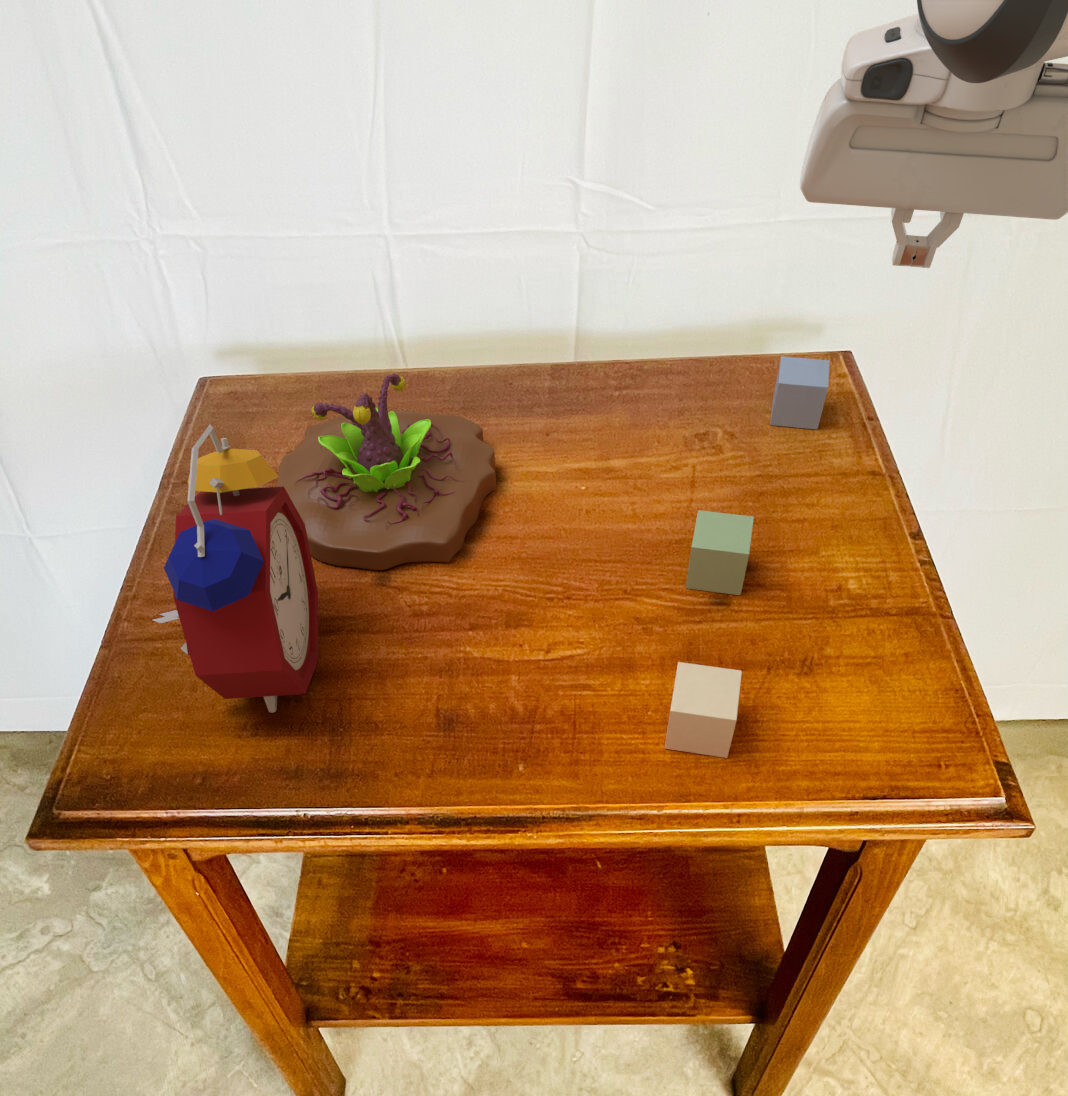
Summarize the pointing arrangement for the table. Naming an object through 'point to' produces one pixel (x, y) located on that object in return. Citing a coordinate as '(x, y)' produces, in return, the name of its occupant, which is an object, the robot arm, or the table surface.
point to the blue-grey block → (800, 392)
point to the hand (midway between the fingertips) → (910, 263)
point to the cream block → (703, 709)
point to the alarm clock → (243, 579)
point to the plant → (387, 483)
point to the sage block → (719, 552)
